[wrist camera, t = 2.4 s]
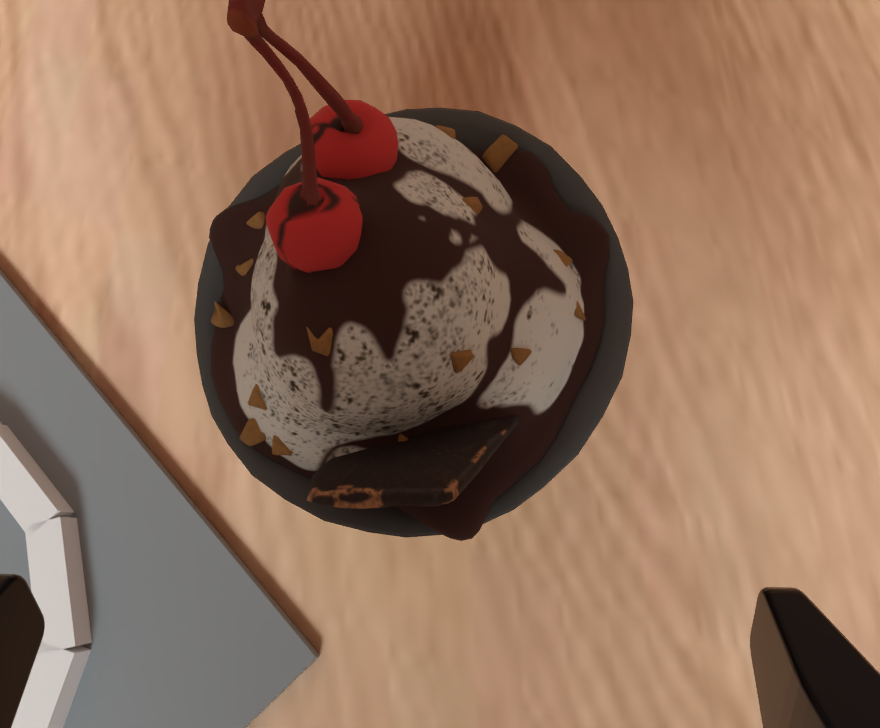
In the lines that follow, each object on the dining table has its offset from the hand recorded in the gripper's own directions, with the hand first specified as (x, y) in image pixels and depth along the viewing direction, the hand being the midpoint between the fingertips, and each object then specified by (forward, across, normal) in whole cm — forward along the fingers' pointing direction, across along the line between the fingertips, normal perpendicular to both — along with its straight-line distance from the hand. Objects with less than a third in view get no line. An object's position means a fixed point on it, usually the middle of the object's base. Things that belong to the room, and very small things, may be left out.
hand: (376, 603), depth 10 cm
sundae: (+11, 0, +5) cm, 12 cm away
